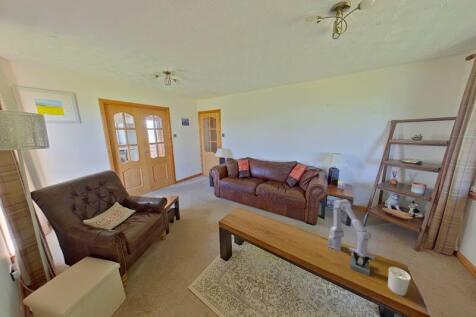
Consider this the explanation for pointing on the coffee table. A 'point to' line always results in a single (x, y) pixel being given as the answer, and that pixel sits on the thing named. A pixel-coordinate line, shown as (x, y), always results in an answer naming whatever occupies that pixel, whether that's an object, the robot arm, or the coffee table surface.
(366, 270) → the socket block
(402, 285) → the candle holder
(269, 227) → the coffee table surface
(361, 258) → the metal peg
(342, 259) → the coffee table surface
